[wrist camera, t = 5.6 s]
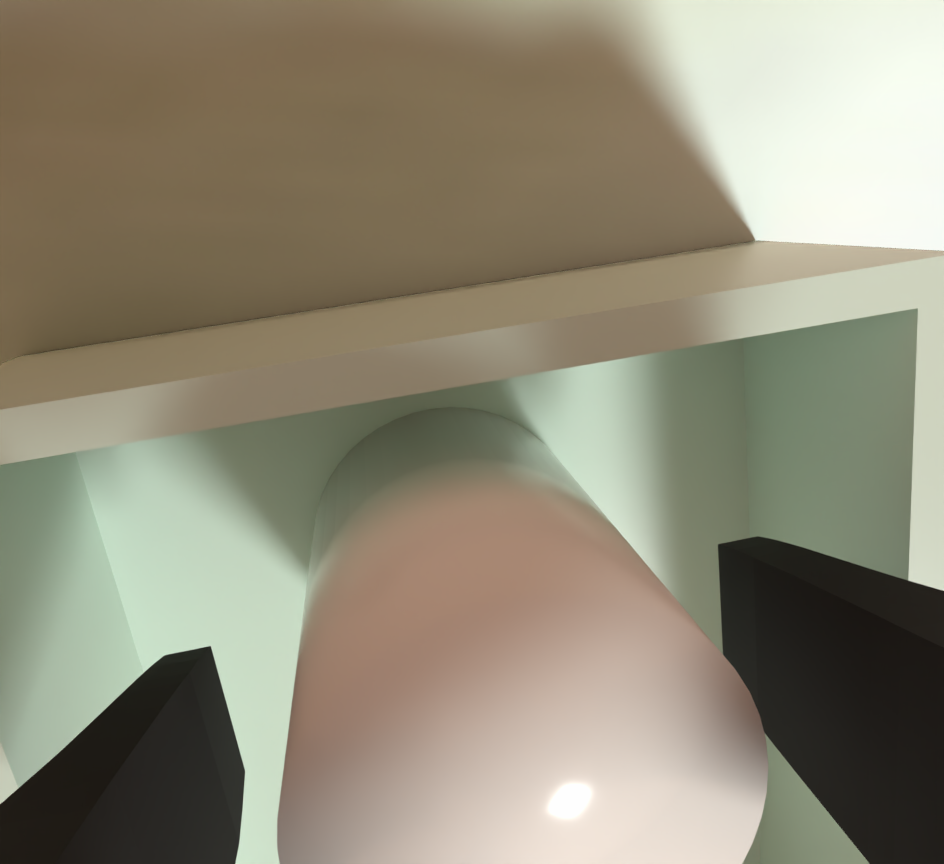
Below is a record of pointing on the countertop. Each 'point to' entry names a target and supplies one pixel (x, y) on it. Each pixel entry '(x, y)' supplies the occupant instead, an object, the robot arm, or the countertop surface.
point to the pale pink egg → (502, 673)
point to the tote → (476, 387)
